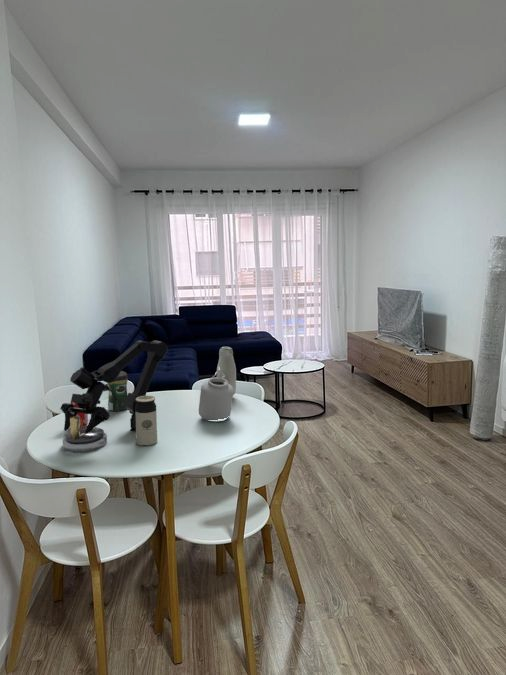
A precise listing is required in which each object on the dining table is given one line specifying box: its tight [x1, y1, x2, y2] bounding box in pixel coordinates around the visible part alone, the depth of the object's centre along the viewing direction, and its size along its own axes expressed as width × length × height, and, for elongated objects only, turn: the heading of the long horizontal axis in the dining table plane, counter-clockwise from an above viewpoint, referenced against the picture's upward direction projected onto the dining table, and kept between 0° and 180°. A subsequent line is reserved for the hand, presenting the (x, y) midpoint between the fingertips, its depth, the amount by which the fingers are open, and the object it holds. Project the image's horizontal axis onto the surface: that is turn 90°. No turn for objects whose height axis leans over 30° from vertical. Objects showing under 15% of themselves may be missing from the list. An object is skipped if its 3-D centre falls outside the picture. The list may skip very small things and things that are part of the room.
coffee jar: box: [107, 370, 129, 412], centre depth 214 cm, size 10×8×19 cm
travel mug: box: [135, 395, 158, 446], centre depth 171 cm, size 8×8×18 cm
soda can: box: [70, 401, 89, 428], centre depth 189 cm, size 7×7×12 cm
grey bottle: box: [216, 346, 237, 396], centre depth 234 cm, size 10×10×28 cm
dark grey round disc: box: [62, 432, 108, 454], centre depth 170 cm, size 16×16×3 cm
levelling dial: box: [64, 417, 105, 444], centre depth 169 cm, size 14×14×10 cm
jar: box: [198, 369, 234, 421], centre depth 198 cm, size 19×15×25 cm
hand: (75, 431), depth 162 cm, fingers open, 9 cm apart
